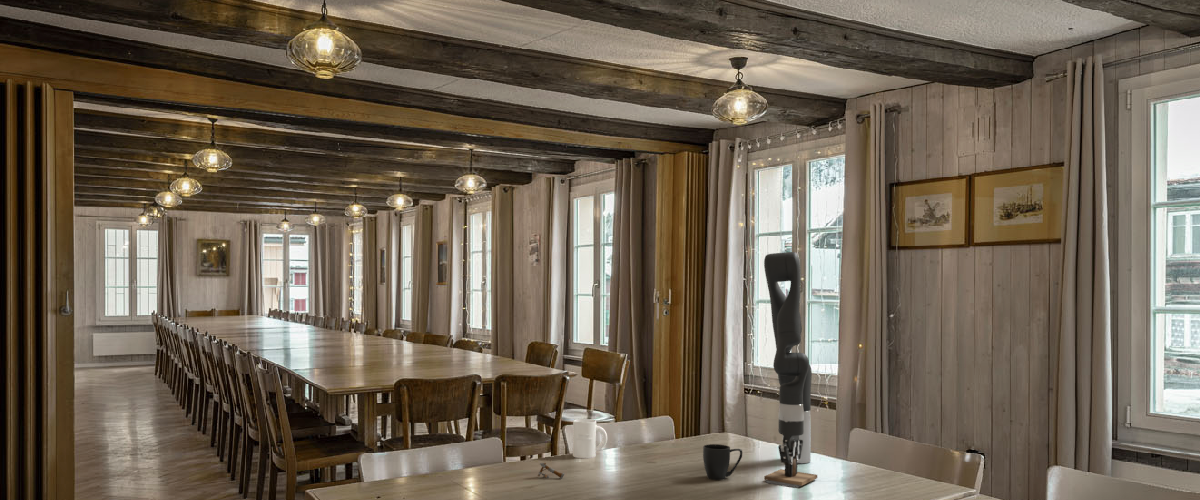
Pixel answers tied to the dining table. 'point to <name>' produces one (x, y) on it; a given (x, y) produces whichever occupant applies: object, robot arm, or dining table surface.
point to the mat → (782, 483)
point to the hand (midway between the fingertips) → (790, 475)
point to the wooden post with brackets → (549, 470)
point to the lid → (795, 479)
